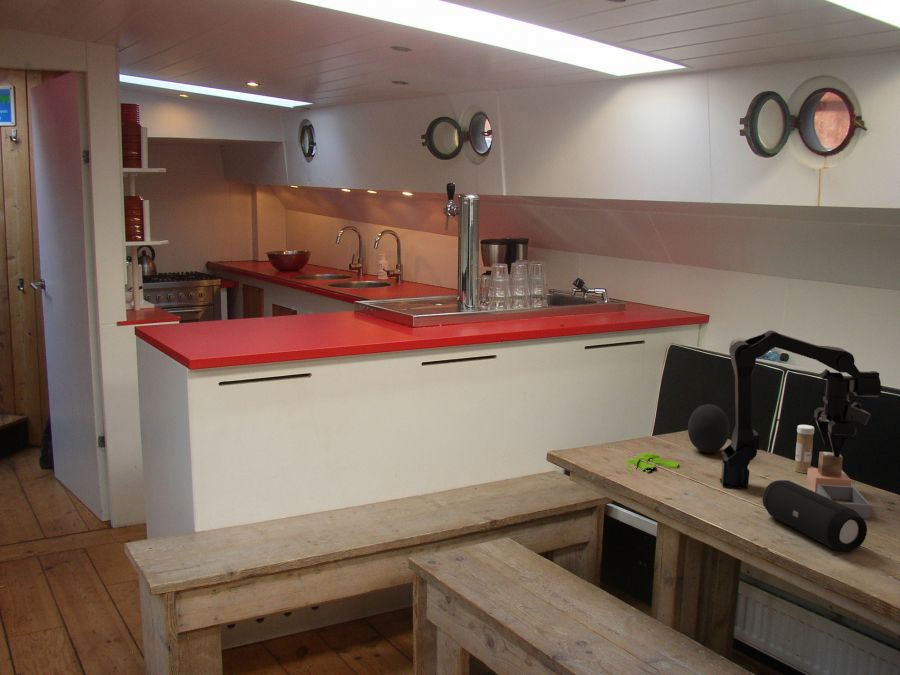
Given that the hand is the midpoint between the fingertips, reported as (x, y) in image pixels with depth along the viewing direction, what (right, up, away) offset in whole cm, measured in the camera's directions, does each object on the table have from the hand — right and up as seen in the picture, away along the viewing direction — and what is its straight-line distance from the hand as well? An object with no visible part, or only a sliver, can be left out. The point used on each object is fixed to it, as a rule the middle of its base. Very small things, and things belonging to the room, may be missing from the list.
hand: (831, 451), depth 241 cm
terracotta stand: (0, -11, +2) cm, 11 cm away
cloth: (-44, -8, +20) cm, 49 cm away
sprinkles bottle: (-1, -8, +18) cm, 20 cm away
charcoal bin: (-2, -13, -12) cm, 18 cm away
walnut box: (0, -6, +1) cm, 6 cm away
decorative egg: (-24, -5, +35) cm, 43 cm away
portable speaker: (-18, -16, -30) cm, 38 cm away
